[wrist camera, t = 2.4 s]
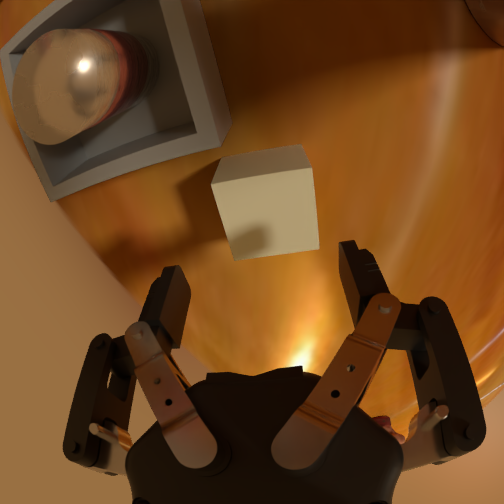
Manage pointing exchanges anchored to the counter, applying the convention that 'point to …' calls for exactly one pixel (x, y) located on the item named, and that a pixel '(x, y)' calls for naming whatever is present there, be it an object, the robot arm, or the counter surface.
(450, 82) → the counter surface
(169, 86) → the box
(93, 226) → the counter surface
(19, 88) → the tan rounded piece
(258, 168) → the plain beige box
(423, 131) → the counter surface
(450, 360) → the robot arm
